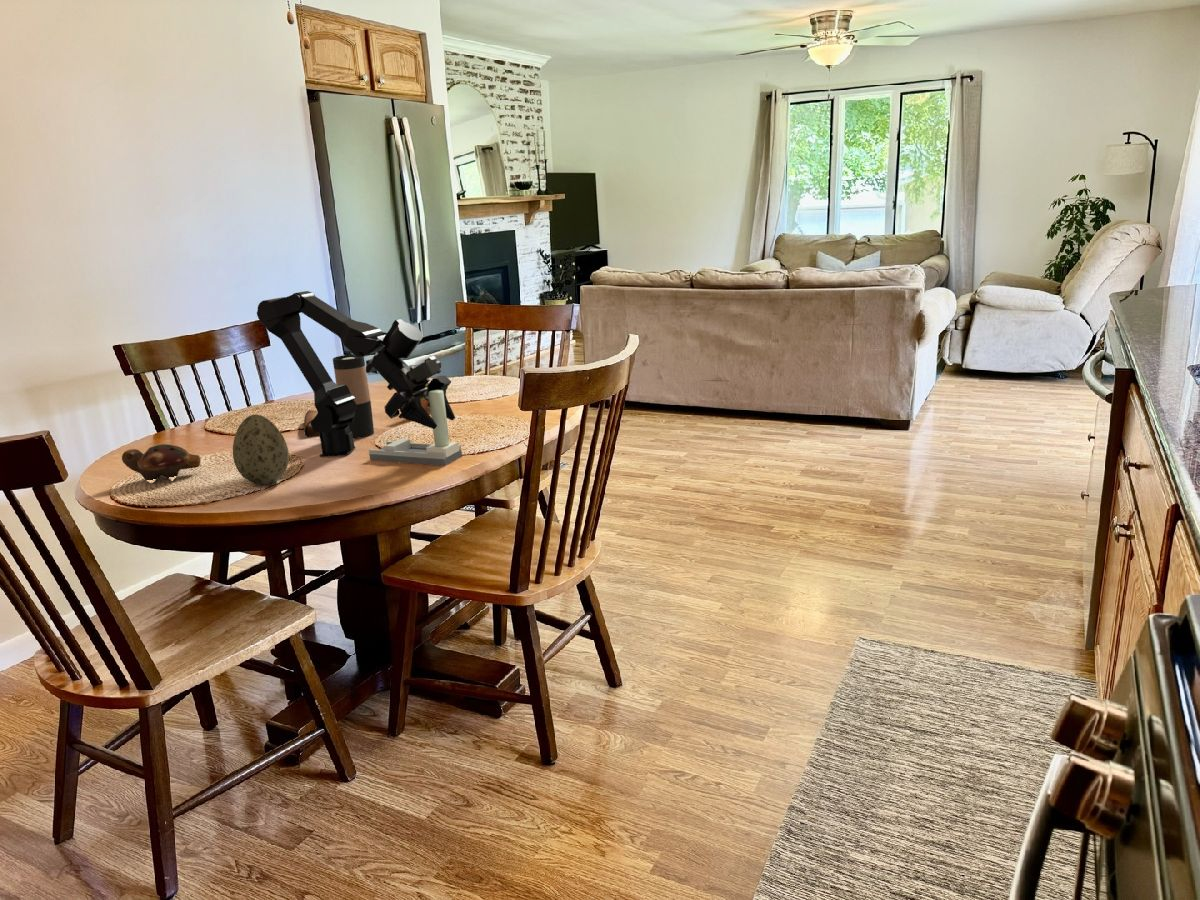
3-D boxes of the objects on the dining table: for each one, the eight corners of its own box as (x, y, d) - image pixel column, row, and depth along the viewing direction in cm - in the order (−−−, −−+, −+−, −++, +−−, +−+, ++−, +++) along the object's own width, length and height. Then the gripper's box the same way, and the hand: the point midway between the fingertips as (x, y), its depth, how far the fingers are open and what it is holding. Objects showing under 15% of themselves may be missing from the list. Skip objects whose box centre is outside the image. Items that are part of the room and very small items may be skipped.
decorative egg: (255, 476, 181) (242, 409, 176) (302, 474, 179) (290, 407, 175) (229, 492, 170) (215, 422, 166) (278, 491, 169) (265, 420, 165)
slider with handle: (427, 456, 181) (419, 394, 177) (440, 449, 186) (432, 388, 182) (446, 457, 179) (438, 394, 175) (459, 450, 184) (452, 389, 180)
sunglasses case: (339, 432, 213) (322, 412, 210) (317, 449, 212) (299, 430, 209) (336, 417, 229) (320, 399, 226) (316, 433, 228) (299, 415, 226)
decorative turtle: (125, 481, 183) (120, 445, 182) (200, 471, 191) (196, 437, 189) (125, 490, 175) (120, 453, 173) (204, 479, 182) (199, 444, 181)
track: (370, 460, 187) (367, 445, 186) (388, 451, 193) (386, 437, 192) (445, 465, 179) (443, 450, 178) (462, 456, 185) (460, 441, 184)
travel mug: (346, 440, 205) (334, 361, 199) (342, 433, 212) (330, 356, 206) (377, 435, 208) (366, 357, 202) (372, 429, 215) (361, 352, 209)
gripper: (388, 355, 169) (440, 409, 168) (439, 339, 186) (486, 389, 185) (363, 391, 174) (413, 444, 173) (414, 373, 191) (460, 421, 190)
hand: (445, 423), depth 180 cm, fingers open, 7 cm apart
